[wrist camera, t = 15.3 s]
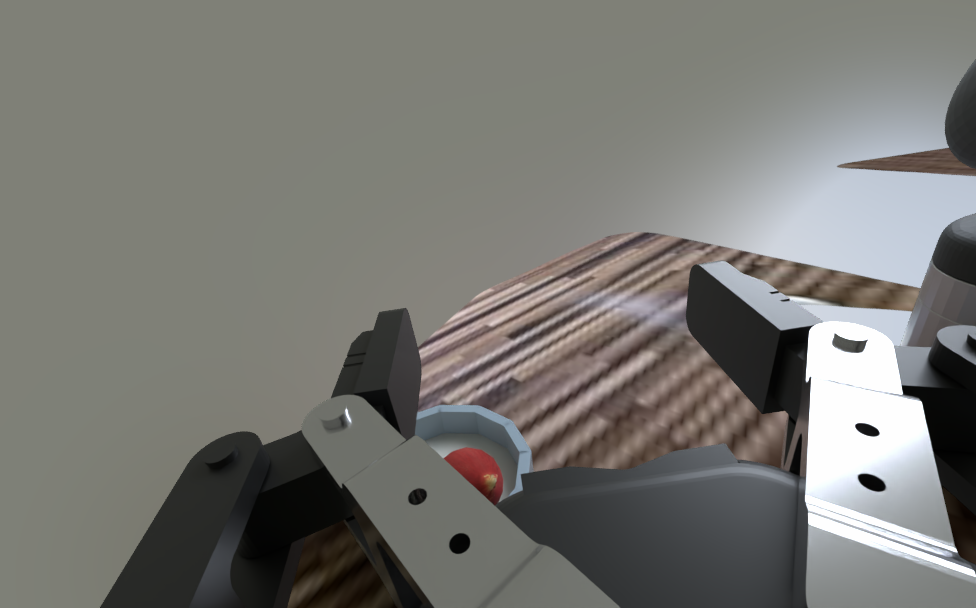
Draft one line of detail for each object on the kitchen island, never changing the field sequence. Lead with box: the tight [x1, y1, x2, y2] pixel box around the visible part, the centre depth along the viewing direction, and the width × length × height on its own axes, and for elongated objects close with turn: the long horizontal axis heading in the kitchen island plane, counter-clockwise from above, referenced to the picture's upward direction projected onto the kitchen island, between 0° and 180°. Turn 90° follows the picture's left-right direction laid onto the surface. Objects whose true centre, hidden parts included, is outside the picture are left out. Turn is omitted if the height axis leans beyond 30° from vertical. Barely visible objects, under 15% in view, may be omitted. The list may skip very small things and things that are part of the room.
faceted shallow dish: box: [415, 405, 533, 502], centre depth 40 cm, size 16×16×4 cm
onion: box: [444, 447, 503, 506], centre depth 36 cm, size 6×6×8 cm
